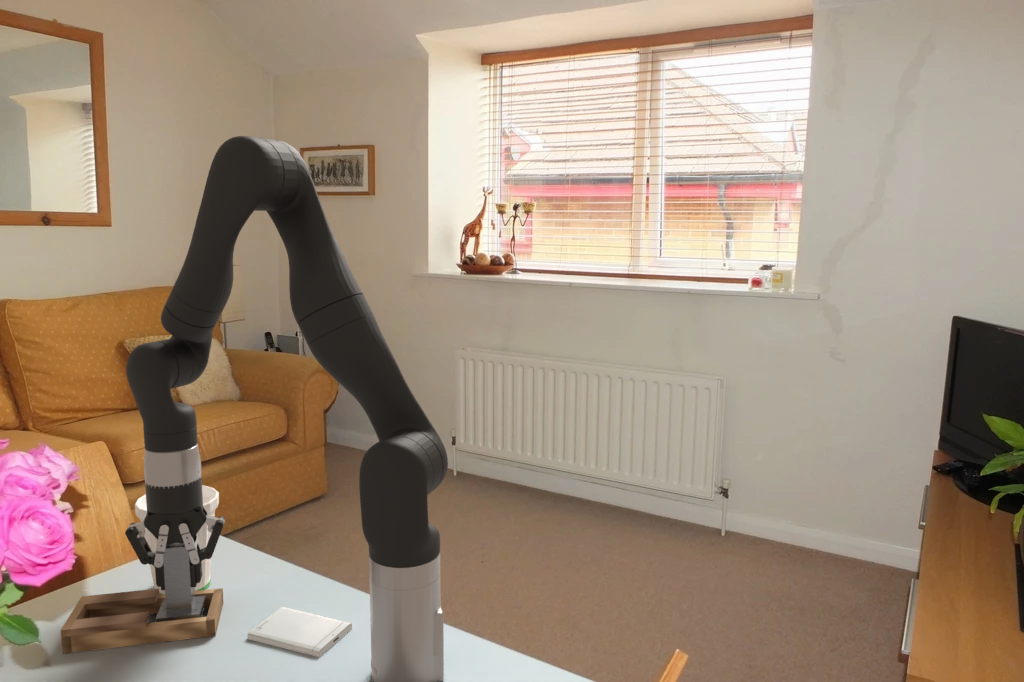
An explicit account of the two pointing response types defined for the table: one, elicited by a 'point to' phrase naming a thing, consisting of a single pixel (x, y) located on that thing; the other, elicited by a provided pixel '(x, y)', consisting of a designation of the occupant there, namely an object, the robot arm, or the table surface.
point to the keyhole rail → (133, 621)
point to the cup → (203, 534)
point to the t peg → (179, 587)
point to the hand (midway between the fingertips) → (180, 585)
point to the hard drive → (300, 631)
